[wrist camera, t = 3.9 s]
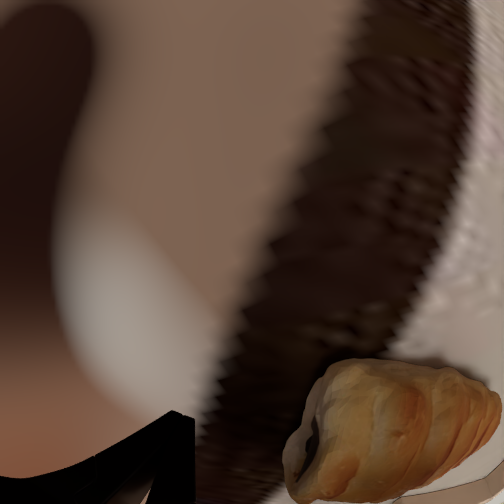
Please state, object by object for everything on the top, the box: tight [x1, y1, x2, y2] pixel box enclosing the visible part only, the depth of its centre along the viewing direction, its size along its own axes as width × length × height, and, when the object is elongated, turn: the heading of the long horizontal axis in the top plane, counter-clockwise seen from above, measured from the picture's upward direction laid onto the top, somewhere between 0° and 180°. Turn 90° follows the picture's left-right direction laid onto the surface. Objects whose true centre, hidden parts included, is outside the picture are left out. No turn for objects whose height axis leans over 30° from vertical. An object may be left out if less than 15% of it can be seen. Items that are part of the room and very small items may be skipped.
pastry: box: [282, 358, 502, 504], centre depth 6 cm, size 9×7×4 cm
